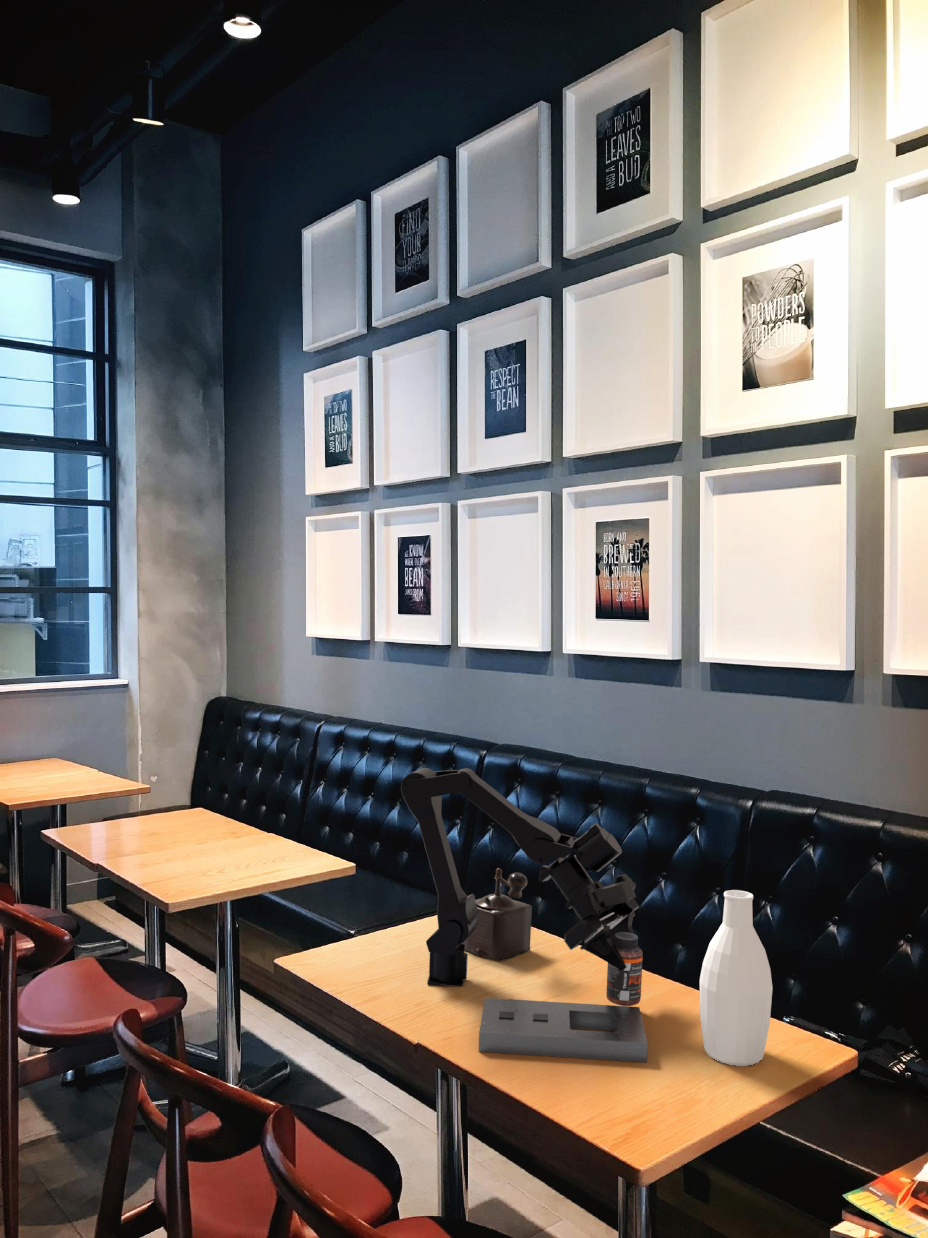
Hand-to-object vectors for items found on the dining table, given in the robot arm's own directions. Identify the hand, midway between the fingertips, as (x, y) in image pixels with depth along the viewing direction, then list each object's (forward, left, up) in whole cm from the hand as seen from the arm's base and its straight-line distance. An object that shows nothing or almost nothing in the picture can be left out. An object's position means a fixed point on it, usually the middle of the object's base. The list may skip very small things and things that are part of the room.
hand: (632, 964), depth 173 cm
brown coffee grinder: (-23, +27, -9) cm, 36 cm away
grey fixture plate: (-12, -11, -9) cm, 19 cm away
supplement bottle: (-1, +1, -7) cm, 7 cm away
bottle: (+15, -13, -9) cm, 22 cm away
